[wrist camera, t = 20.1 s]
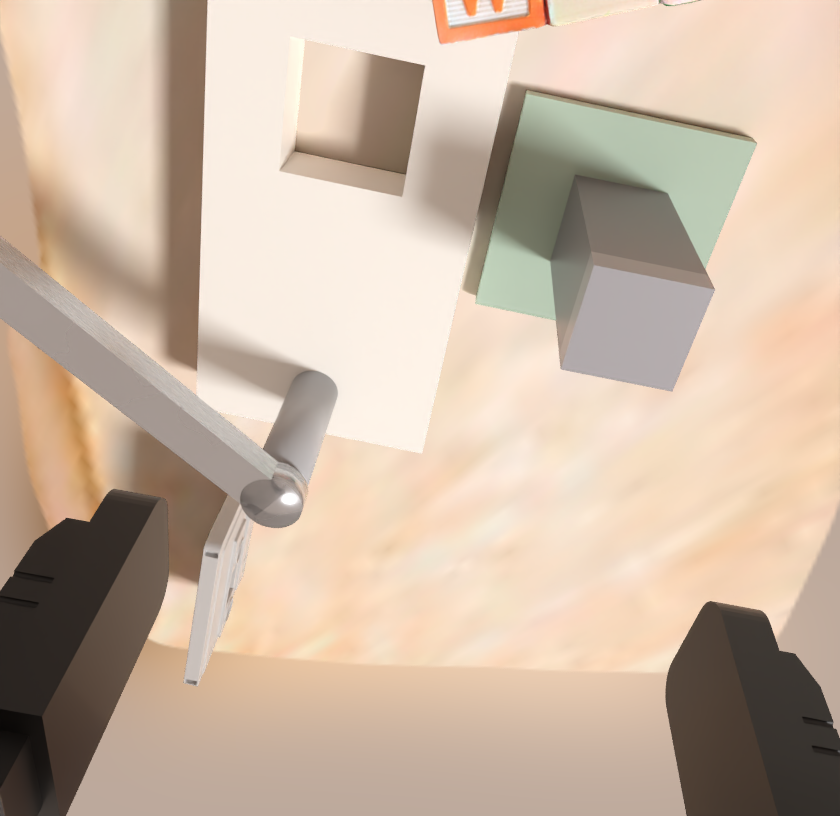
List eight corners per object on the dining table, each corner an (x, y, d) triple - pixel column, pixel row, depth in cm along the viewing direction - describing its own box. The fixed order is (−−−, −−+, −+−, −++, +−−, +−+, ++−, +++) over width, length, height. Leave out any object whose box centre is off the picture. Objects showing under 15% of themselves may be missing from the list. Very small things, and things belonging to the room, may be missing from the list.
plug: (574, 174, 36) (594, 265, 27) (667, 193, 36) (715, 289, 27) (550, 261, 38) (560, 369, 30) (637, 278, 38) (672, 391, 30)
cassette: (241, 595, 54) (205, 691, 48) (214, 588, 54) (174, 684, 47) (268, 460, 47) (230, 551, 41) (237, 451, 47) (194, 541, 41)
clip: (320, 489, 34) (314, 507, 33) (281, 518, 35) (274, 537, 34) (-18, 213, 29) (-36, 225, 28) (-51, 258, 30) (-70, 272, 29)
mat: (526, 89, 35) (526, 94, 34) (752, 137, 35) (757, 143, 34) (476, 296, 40) (475, 303, 39) (671, 337, 40) (673, 344, 40)
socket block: (232, -54, 33) (132, -29, 24) (521, 8, 33) (524, 55, 24) (213, 377, 44) (142, 497, 36) (427, 421, 45) (406, 550, 36)
